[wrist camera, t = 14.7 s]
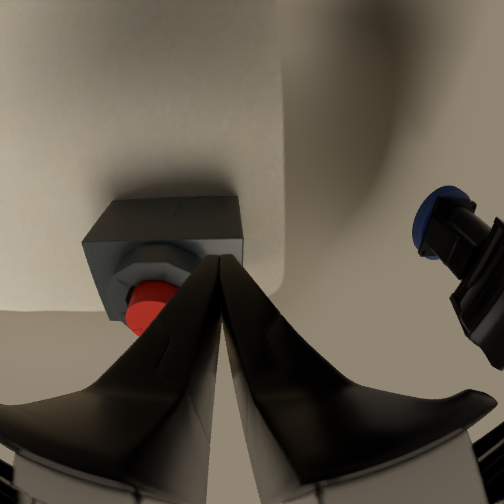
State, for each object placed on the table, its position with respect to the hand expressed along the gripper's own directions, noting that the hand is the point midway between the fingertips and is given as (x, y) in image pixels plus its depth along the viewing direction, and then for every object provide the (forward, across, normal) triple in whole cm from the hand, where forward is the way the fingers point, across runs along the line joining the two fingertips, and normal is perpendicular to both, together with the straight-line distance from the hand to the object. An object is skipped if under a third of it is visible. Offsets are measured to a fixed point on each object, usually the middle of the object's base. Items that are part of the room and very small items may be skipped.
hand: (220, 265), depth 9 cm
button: (+5, +4, +6) cm, 9 cm away
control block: (+12, +4, +6) cm, 14 cm away
